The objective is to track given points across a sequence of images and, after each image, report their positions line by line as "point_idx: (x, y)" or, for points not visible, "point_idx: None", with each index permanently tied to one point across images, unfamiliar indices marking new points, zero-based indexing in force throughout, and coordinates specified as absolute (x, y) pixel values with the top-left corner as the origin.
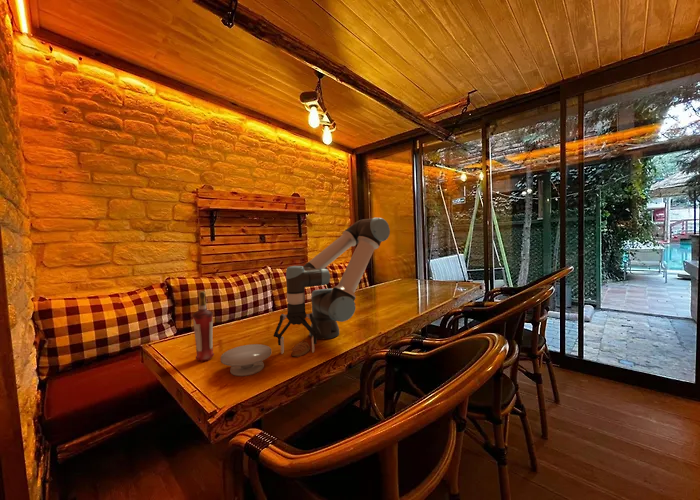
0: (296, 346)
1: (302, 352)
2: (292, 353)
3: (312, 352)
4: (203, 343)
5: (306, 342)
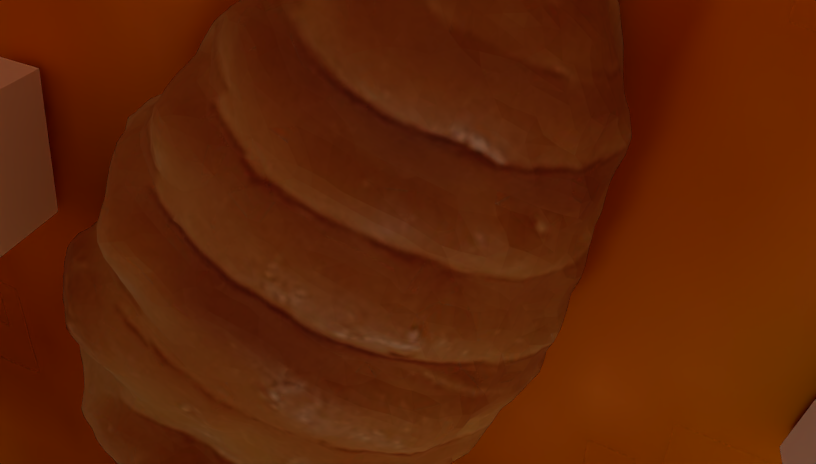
0: (390, 328)
1: (237, 7)
2: (598, 27)
3: (28, 65)
4: None
5: (100, 439)
